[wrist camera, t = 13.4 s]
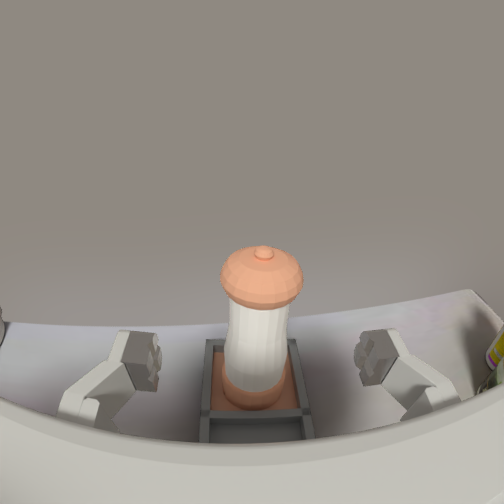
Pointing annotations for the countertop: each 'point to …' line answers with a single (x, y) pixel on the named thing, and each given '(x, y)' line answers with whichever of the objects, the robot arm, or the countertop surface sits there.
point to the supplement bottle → (496, 350)
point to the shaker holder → (253, 422)
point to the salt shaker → (257, 324)
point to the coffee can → (493, 378)
